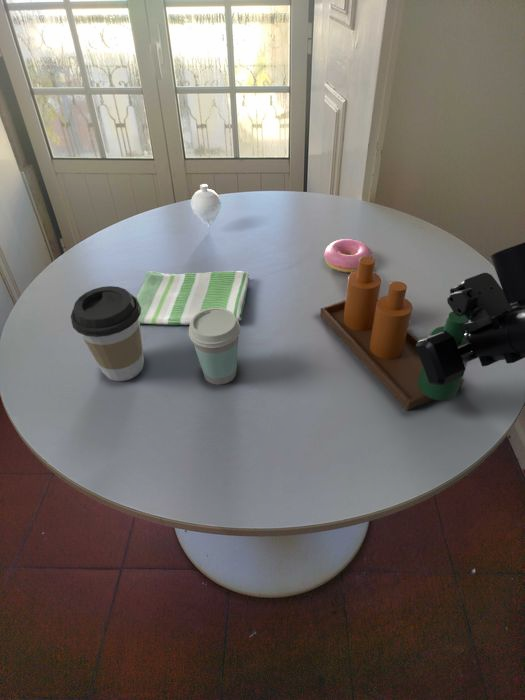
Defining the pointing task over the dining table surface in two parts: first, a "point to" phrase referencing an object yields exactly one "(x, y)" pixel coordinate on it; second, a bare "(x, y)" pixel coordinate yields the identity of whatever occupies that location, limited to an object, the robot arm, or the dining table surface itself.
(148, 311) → the dish towel
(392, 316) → the amber bottle
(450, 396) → the green bottle
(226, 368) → the coffee cup
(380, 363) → the tray
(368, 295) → the amber bottle
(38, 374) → the dining table surface
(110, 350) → the coffee cup
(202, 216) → the spinning top
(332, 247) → the doughnut
